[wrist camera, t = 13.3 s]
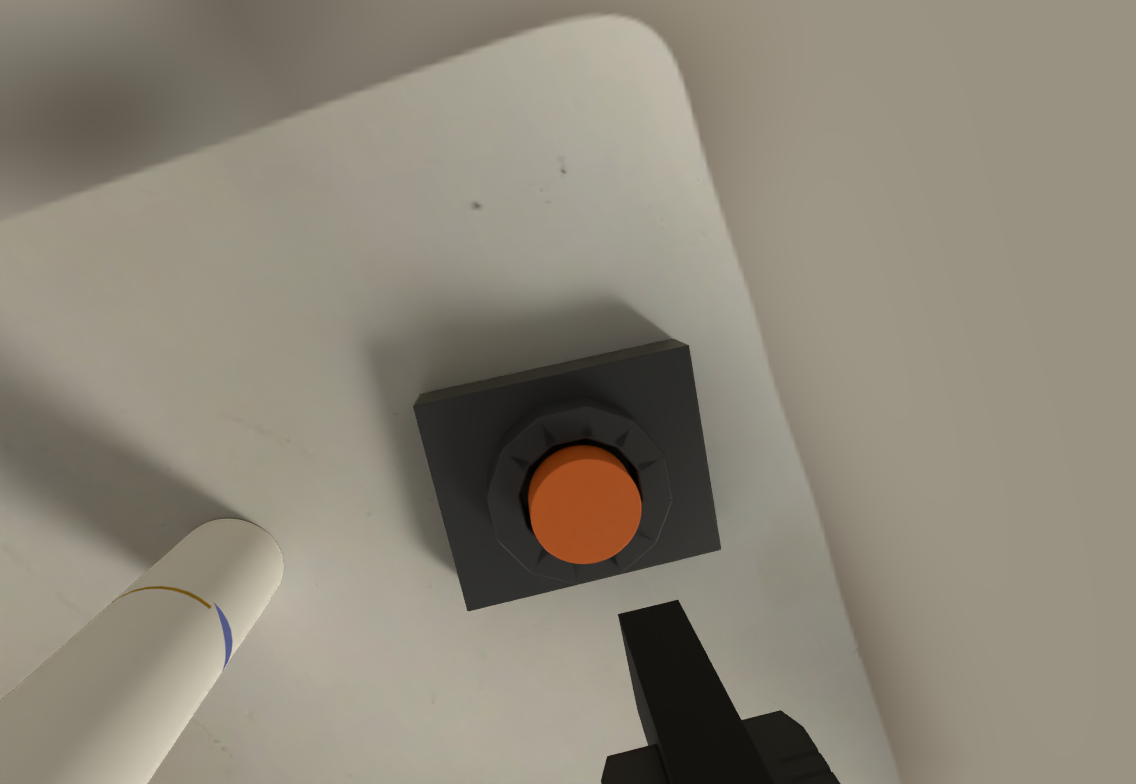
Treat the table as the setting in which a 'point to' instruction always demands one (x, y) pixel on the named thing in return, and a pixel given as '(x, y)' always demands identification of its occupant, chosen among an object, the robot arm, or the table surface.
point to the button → (583, 504)
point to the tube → (140, 664)
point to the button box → (552, 422)
